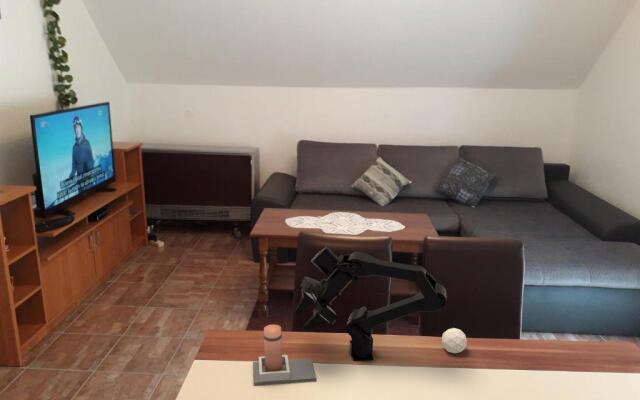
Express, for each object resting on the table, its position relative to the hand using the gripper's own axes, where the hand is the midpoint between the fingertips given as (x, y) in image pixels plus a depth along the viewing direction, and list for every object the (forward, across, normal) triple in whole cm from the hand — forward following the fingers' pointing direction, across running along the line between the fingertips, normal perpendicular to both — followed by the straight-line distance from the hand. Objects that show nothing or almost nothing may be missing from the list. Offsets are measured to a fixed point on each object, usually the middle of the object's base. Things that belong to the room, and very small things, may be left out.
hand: (299, 321), depth 153 cm
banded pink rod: (+15, +6, +2) cm, 16 cm away
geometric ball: (-26, +10, +43) cm, 51 cm away
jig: (+13, +6, +5) cm, 15 cm away
